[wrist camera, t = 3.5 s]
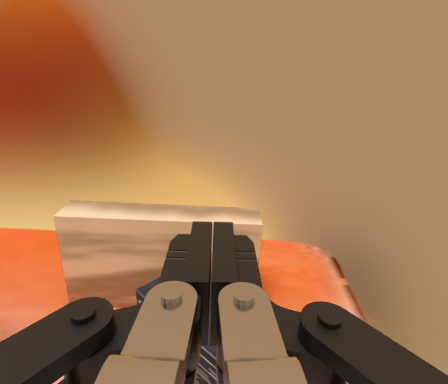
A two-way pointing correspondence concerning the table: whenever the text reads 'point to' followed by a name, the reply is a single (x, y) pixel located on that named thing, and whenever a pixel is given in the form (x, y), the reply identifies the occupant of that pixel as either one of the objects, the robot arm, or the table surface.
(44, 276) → the table surface
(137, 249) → the maple board
